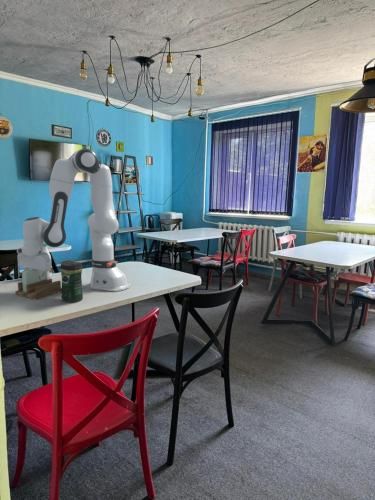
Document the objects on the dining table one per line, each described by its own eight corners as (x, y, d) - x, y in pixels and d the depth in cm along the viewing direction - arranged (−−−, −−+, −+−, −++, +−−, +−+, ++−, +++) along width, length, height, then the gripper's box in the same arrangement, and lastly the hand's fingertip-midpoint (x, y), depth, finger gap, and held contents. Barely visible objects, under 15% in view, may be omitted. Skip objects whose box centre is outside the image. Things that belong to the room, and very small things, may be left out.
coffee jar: (86, 299, 163) (85, 261, 159) (72, 304, 156) (71, 263, 153) (72, 295, 168) (71, 258, 164) (58, 299, 161) (57, 260, 158)
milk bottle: (46, 279, 194) (45, 244, 191) (34, 278, 196) (32, 243, 192) (54, 276, 202) (53, 242, 198) (42, 275, 203) (41, 241, 200)
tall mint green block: (47, 286, 176) (46, 267, 174) (27, 292, 166) (26, 272, 164) (43, 285, 178) (42, 266, 176) (22, 291, 167) (21, 271, 165)
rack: (63, 291, 174) (63, 280, 173) (36, 299, 160) (35, 288, 159) (43, 286, 181) (42, 276, 180) (15, 294, 167) (14, 283, 166)
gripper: (53, 251, 166) (55, 279, 169) (25, 247, 176) (27, 273, 178) (43, 253, 161) (44, 282, 163) (14, 249, 170) (16, 276, 173)
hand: (35, 277), depth 171 cm, fingers open, 8 cm apart
